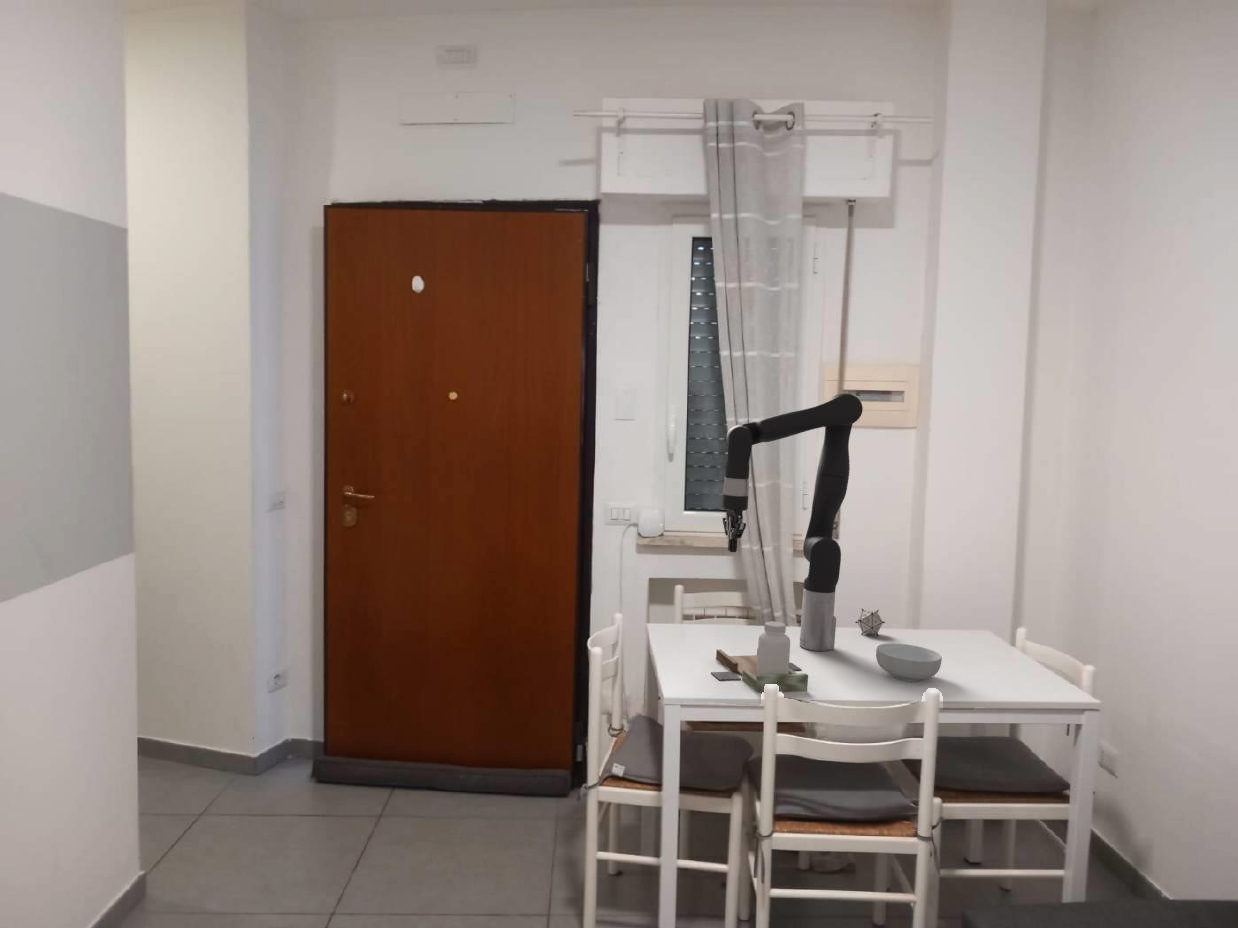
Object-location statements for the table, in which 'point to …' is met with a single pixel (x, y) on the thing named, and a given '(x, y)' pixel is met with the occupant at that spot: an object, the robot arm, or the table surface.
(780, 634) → the pill bottle
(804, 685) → the lane
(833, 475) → the robot arm
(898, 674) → the cereal bowl
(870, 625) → the spiked polyhedron ball
